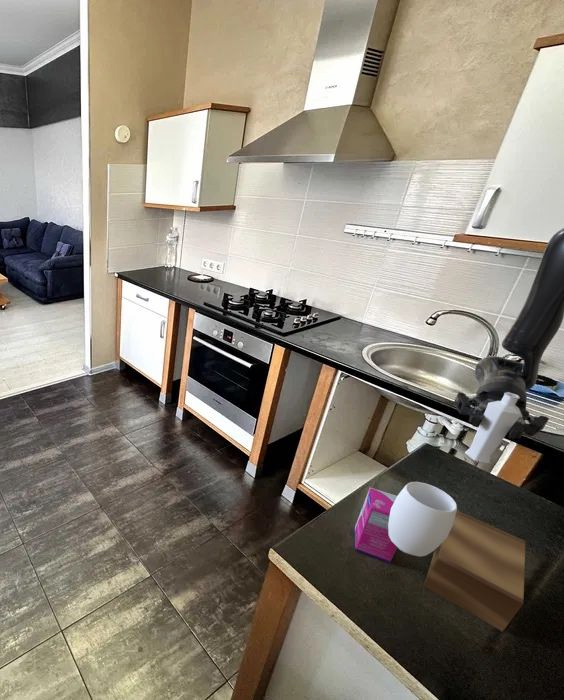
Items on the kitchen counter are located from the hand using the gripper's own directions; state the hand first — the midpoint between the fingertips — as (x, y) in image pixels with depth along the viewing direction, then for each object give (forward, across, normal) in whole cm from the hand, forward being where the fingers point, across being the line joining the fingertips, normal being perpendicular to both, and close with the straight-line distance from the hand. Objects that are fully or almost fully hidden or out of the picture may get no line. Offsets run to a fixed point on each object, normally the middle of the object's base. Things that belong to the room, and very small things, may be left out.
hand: (495, 428), depth 72 cm
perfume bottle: (-3, 0, +9) cm, 9 cm away
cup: (+30, -5, +22) cm, 37 cm away
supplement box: (+23, -10, +22) cm, 33 cm away
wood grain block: (+18, +4, +22) cm, 28 cm away
